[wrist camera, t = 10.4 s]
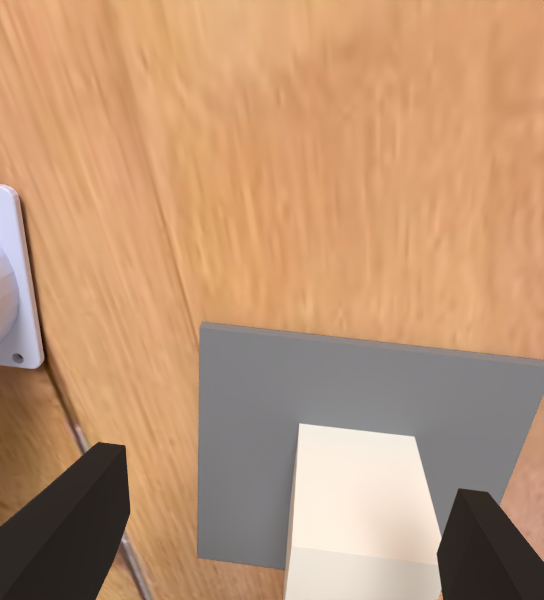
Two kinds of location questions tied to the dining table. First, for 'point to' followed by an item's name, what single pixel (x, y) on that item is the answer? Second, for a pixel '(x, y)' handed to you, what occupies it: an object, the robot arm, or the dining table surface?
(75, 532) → the robot arm
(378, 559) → the cream block
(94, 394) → the dining table surface
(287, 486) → the charcoal mat
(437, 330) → the dining table surface
